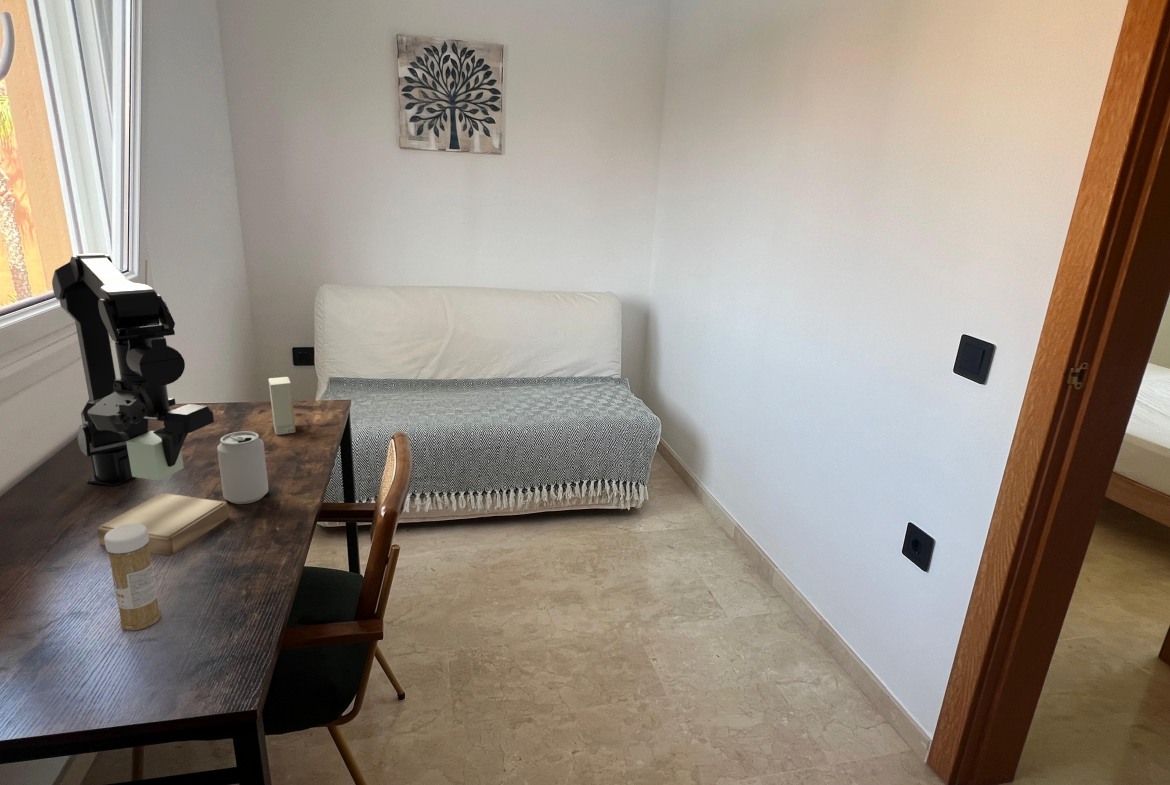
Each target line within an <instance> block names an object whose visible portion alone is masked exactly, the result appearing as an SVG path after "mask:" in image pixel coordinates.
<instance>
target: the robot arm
mask: <svg viewBox="0 0 1170 785" xmlns="http://www.w3.org/2000/svg"><path fill="white" fill-rule="evenodd" d="M51 285H52V290H53V291H52V292H53V294H54V297H55V299H56V300H59V304H60V307H61V308H62V310H64V311H65V312H66V313H67V314H68V316H70V318H72V320H74V323H75V327H76V329H75V330H76V334H77V339H78V344H79V351H80V355H81V356H80V357H81V361H82V367H83V371H84V377H85V383H86V389H87V394H88V401H87V402H86V404H85V406H84V407H83V409H82V411H81V412H80V415H81V416H80V418H81V422H82V423H81V424H80V425H79V426H78V427H79V428H78V432H77V433H78V434H77V442H78V446H79V450H80V452H82V454H84V456H86V457H87V458H89V457H90V461H91V468H92V471H93V476H92V477H91V476H90V477H89V478H87V479H86V482H87V483H93V484H97V485H106V486H113V487H116V486H118V485H121V484H123V483H125V482H126V481H129V480H131V479H134V477H132V473H131V467H130V461H129V456H128V450H127V444H126V441H129V440H131V439H133V438H136V437H138V436H141V435H143V434H145V433H148V432H149V421H160V422H163V424H162V428H160V429H156V430H153V431H154V432H153V433H154V434H156V435H157V436H159V437H160V438H161V439H162V444H163V449H164V454H165V459H166V462H167V465H168V466H169V467H171V466H173V465H175V463H176V461H177V458H178V456H179V453H180V450H181V451H182V448H183V445H184V442H185V440H186V439H187V436H188V434H191V433H193V432H196V431H197V430H200V429H202V428H205V427H207V426H208V425H210V424H212V423H215V420H214V413H213V412H214V411H213V409H212V408H211V407H209V406H208V405H202V404H201V405H199V404H192V403H188V404H185V405H183V406H179V407H177V408H176V409H175V408H174V409H170V407H173V406H174V405H176V399H175V397H169V395H168V394H169V393H168V392H169V391H168V388H167V387H168V386H167V385H170V384H173V383H175V382H176V381H178V380H179V379H180V378H181V377H182V376H183V373H184V371H185V367H186V366H185V365H186V362H185V359H184V357H183V355H182V354H181V353H180V352H179V351H178V350H176V349H175V348H173V347H172V346H170V345H168V344H167V343H168V342H167V339H166V337H168V336H175V335H176V334H175V333H176V332H175V330H174V329H175V325H176V323H175V321H174V318H173V316H172V314H171V312H170V310H169V307H168V305H167V304H166V302H165V301H164V300H163V298H162V296H161V294H158V293H157V291H156V290H155V289H154V288H153V287H151V286H149V285H147V284H145V283H144V284H143V283H137V282H132V281H130V280H129V278H127V276H125V275H124V273H123V272H122V271H121V270H119V268H118V267H117V266H116V265H114V263H113V260H112V258H111V256H110V255H109V254H104V253H82V254H81V253H78V254H76V255H71V257H70V260H69V261H68V262H67V263H65V264H64V265H62V266H60V267H58V268H56V269H55V270H54V272H53V276H52V281H51ZM110 338H111V340H112V341H114V346H115V353H116V358H117V364H118V370H119V376H120V378H117V377H116V371H115V370H116V369H115V366H114V365H115V364H114V363H115V362H114V359H113V353H112V346H111V340H110Z"/></svg>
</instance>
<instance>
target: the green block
mask: <svg viewBox="0 0 1170 785" xmlns="http://www.w3.org/2000/svg"><path fill="white" fill-rule="evenodd" d="M154 431H155V430H150V431H148V433H145V434H143V435H141V436H138V437H136V438H133V439H131V440H129V441H126V444H127V450H128V456H129V461H130V467H131V473H132V477H133V478H137V479H138V478H139V479H145V480H152V481H153V480H154V481H158V482H159V481H162V480H163V479H166V478H167V477H170V476H171V475H173V474H175V473H177V472H179V471H181V470H182V469H184V468H185V467H184V460H183V453H182V449H181V450H180V453H179V456H178V458H177V461H176V463H175V465H173V466H171V467H169V466H168V465H167V462H166V459H165V454H164V449H163V444H162V439H161V438H160V437H159V436H157V435H156V434H154V433H153V432H154Z"/></svg>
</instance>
